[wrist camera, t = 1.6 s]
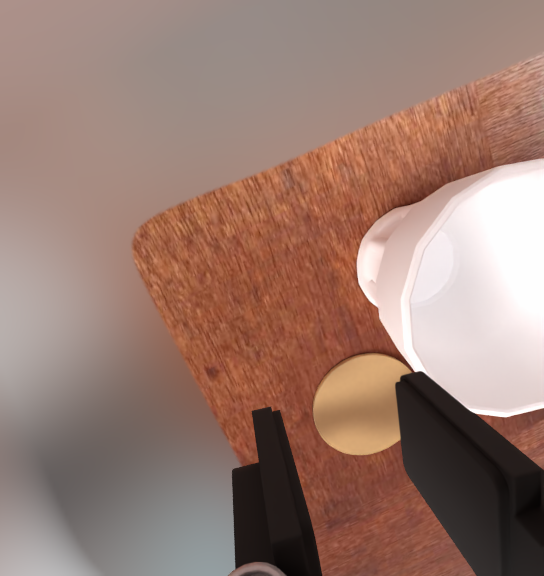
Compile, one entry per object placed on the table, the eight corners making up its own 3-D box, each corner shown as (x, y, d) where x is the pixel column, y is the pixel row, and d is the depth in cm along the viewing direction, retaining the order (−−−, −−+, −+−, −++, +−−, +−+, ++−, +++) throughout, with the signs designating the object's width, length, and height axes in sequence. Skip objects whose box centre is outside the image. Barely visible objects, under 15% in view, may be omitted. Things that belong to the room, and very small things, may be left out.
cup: (325, 341, 28) (388, 426, 17) (334, 172, 25) (417, 150, 15) (472, 337, 30) (614, 411, 19) (497, 178, 27) (678, 161, 16)
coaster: (290, 397, 29) (291, 400, 28) (383, 331, 28) (385, 332, 28) (349, 471, 31) (351, 474, 31) (436, 410, 31) (438, 412, 30)
